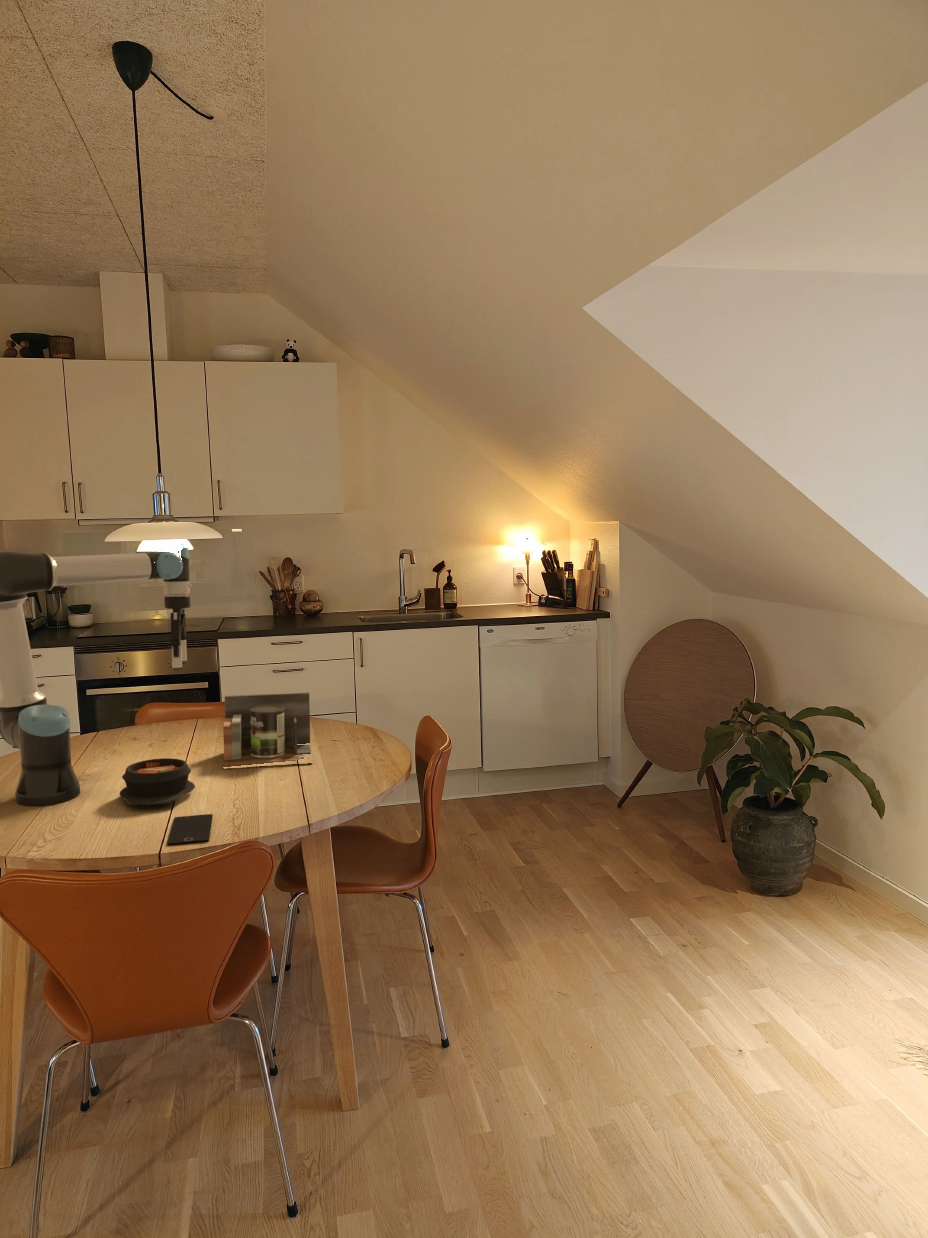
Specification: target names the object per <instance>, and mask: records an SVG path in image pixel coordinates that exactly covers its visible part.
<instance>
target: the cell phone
mask: <svg viewBox="0 0 928 1238" xmlns="http://www.w3.org/2000/svg"><path fill="white" fill-rule="evenodd" d="M212 817H214V815H213V814H212V813H206V814H196V815H184V816H175V817H174V818H173V822H172V825H171V829H170V833H169V835H168V839H167V842H166V843H167V844H166V845H167V846H168V847H169V846H170V847H171V846H183V845H185V846H186V845H194V844H195V843H196V844H205V843H209V842H210V838H211V832H210V831H212V825H213V818H212ZM211 824H212V825H211ZM196 844H195V845H196Z"/></svg>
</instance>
